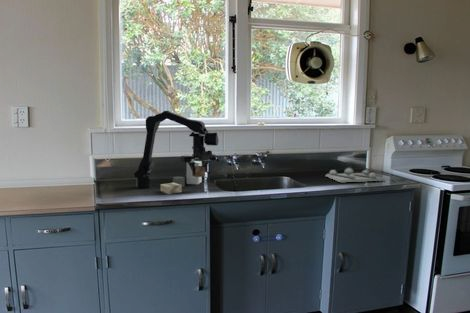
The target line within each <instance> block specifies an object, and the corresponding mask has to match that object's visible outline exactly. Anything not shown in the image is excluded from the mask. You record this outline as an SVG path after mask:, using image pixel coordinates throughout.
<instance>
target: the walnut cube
mask: <svg viewBox="0 0 470 313" xmlns="http://www.w3.org/2000/svg"><path fill="white" fill-rule="evenodd" d="M192 176H194V177H202V178H203V177H206V169H205V167H203V166H195V175H194V174H193V172H192Z"/></svg>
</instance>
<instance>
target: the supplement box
mask: <svg viewBox="0 0 470 313" xmlns="http://www.w3.org/2000/svg"><path fill="white" fill-rule="evenodd" d="M194 162H195V166H202V161H201V160H194ZM202 178H203V177H194V176H192V170H191V168H190V166H189V164H188V163H187V162H186V185H200V183H202V182H203V181H202V180H203V179H202Z"/></svg>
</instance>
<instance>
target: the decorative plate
mask: <svg viewBox="0 0 470 313" xmlns="http://www.w3.org/2000/svg"><path fill="white" fill-rule="evenodd" d="M354 170H355V169H352V168H351V167H346V168H345V169H344V172H343V173H338V171H337V170H336V169H331V170H330V171H328V173H326V174H325V175H324V176H325V177H326V178H327V177H328V179H330V180H332V179H333V181H334V180H335V182H337V183H339V182H340V183H339V184H347V183H346V182H364V183H368V182H367V181H384V182H385V181H386V180H385V178H383V177H380V176H377V174H376V173H373V172H370V173H369V170H367V169H364V170H362V172H355V171H354Z"/></svg>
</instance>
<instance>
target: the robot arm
mask: <svg viewBox="0 0 470 313" xmlns="http://www.w3.org/2000/svg"><path fill="white" fill-rule="evenodd" d="M166 120H169V121H171V122H175V123H177V124H179V125H183V126H185V127H187V128H188V129H189V130H190V131H192V132H191V133H190V134H189V137H192V146H191V148H192V154H191V156H190V155H181V156H180V158H179V159H180V160H179V161H180V162H182V163H186V164H187V163H188V164H189V166H190V168H191V170H192V172H193V174H194V175H195V162H194V161H202V166H203V167H205V170H206V168H207V166H208V165H209V164H210V163H211V162H212V161H217V156H216V155H215V154H213V152H212V150H206V147H205V145H206V146H216V147H217V146H218V145H219V135H218V132H209V131H208V130H207V128H206V125H205V123H204V122H203V121H201V120H197V119H190V118H187V117H185V116H182V115H179V114H177V113H174V112H171V111H169V110H163V111H162V112H160V113H158V114H156V115H155V114H154V115H150V116H147V117H146V119H145V129H146V137H145V144H144V148H143V149H144V150H143V153H142V154H143V156H142V158H141V161H140V162H139V165H138V169H137V170H136V171H135V172H134V173H133V175H134V178H135V188H137V189H139V190H140V189H149V188H151V187H150V185H151V183H150V176H149V175H150V174H151V172H153V169H155V166H154V165H155V161H153V158H152V157H153V151H154V144H155V138H156V133H157V131H158V130H159V128H160V127H159V126H160V124H161V123H162V122H164V121H166Z"/></svg>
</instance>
